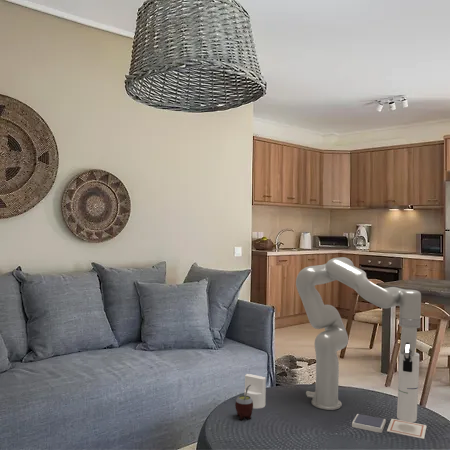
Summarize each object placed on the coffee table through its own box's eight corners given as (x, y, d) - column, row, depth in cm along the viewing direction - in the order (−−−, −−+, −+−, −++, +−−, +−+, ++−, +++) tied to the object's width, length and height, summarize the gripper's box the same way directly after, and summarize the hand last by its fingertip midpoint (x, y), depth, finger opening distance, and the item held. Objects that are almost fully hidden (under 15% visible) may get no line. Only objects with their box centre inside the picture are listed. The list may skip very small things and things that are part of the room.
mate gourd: (240, 412, 198) (240, 376, 198) (257, 416, 195) (258, 379, 195) (231, 419, 192) (232, 381, 192) (249, 423, 188) (250, 384, 188)
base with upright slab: (269, 403, 209) (269, 375, 209) (259, 410, 201) (259, 381, 201) (250, 399, 214) (251, 371, 214) (240, 405, 206) (241, 377, 206)
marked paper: (386, 431, 184) (386, 430, 184) (391, 419, 195) (391, 418, 195) (423, 438, 178) (424, 438, 178) (426, 425, 189) (426, 425, 189)
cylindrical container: (418, 423, 182) (421, 356, 182) (398, 420, 184) (401, 355, 183) (414, 415, 189) (417, 351, 189) (395, 413, 191) (398, 350, 190)
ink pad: (351, 426, 187) (352, 422, 187) (357, 417, 196) (357, 412, 196) (381, 433, 182) (381, 428, 182) (385, 423, 191) (385, 418, 191)
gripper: (402, 317, 195) (401, 361, 196) (396, 325, 180) (395, 373, 180) (422, 319, 192) (421, 364, 192) (418, 327, 176) (417, 376, 177)
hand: (408, 368), depth 186 cm, fingers closed on cylindrical container, 7 cm apart
